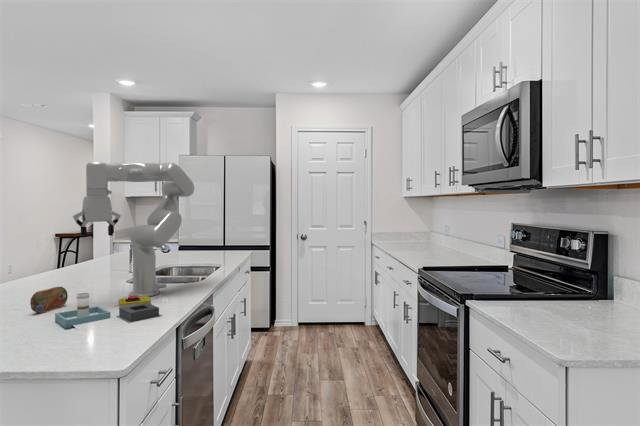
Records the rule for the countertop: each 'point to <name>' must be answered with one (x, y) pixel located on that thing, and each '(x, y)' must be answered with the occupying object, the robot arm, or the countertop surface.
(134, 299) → the emergency button
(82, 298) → the fuse
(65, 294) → the tin
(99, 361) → the countertop surface
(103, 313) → the parts tray
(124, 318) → the fuse panel
